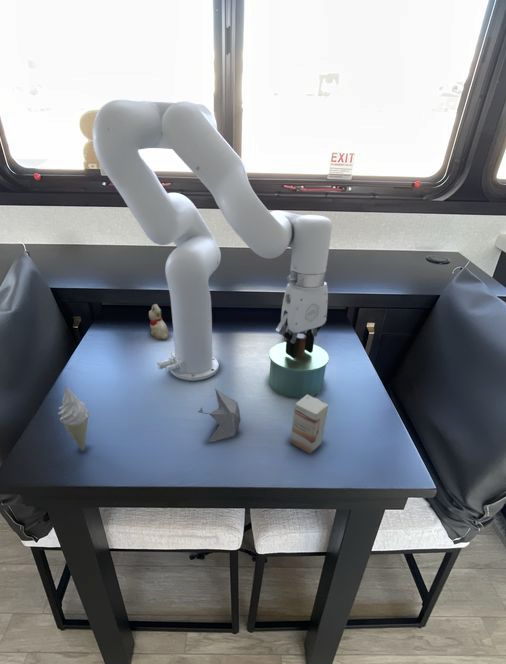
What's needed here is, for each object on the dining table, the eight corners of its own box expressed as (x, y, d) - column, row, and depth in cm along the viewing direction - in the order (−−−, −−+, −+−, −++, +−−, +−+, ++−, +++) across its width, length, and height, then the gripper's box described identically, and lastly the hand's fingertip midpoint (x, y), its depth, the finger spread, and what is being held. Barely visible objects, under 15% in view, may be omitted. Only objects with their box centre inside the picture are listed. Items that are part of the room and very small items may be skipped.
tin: (291, 404, 96) (294, 376, 92) (258, 377, 105) (260, 351, 101) (333, 388, 102) (338, 361, 98) (299, 364, 111) (302, 339, 107)
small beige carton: (289, 442, 84) (293, 402, 79) (301, 432, 87) (306, 393, 82) (310, 455, 81) (316, 414, 76) (322, 444, 84) (329, 403, 79)
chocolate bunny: (169, 328, 128) (166, 297, 123) (168, 340, 122) (166, 308, 116) (150, 329, 128) (147, 298, 122) (149, 340, 121) (146, 308, 116)
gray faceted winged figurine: (242, 442, 82) (197, 435, 80) (233, 450, 88) (191, 444, 86) (247, 388, 87) (204, 379, 85) (238, 399, 93) (198, 391, 91)
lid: (293, 380, 91) (296, 356, 88) (257, 353, 101) (258, 331, 98) (340, 364, 98) (344, 341, 95) (302, 340, 108) (304, 318, 105)
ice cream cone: (72, 442, 83) (56, 378, 75) (98, 441, 84) (84, 378, 76) (66, 459, 79) (47, 394, 71) (93, 458, 79) (78, 393, 71)
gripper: (286, 289, 82) (280, 369, 92) (348, 276, 90) (336, 350, 100) (264, 278, 88) (260, 354, 98) (325, 267, 95) (315, 338, 105)
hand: (299, 352), depth 99 cm, fingers open, 4 cm apart
